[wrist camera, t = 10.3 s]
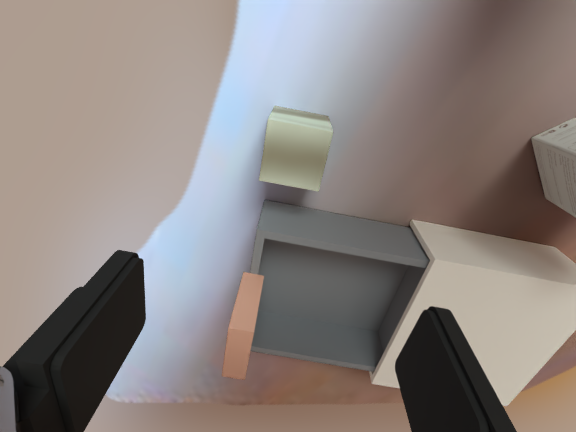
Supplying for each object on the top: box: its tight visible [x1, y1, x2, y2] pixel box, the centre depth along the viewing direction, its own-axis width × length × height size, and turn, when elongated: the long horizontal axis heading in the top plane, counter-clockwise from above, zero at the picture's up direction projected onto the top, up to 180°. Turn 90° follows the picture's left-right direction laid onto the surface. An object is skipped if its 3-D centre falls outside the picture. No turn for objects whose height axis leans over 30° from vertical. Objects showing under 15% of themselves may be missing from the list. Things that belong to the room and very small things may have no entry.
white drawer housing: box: [369, 219, 576, 406], centre depth 35 cm, size 18×16×7 cm
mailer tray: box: [222, 200, 430, 380], centre depth 32 cm, size 16×19×13 cm
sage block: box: [259, 106, 333, 192], centre depth 28 cm, size 5×5×6 cm
